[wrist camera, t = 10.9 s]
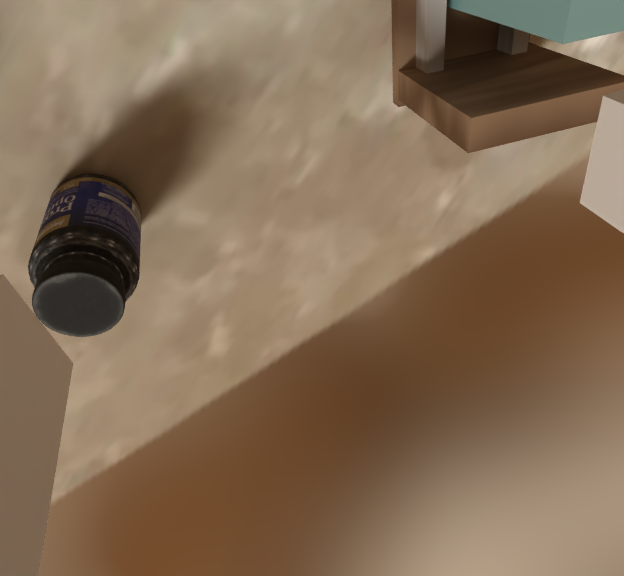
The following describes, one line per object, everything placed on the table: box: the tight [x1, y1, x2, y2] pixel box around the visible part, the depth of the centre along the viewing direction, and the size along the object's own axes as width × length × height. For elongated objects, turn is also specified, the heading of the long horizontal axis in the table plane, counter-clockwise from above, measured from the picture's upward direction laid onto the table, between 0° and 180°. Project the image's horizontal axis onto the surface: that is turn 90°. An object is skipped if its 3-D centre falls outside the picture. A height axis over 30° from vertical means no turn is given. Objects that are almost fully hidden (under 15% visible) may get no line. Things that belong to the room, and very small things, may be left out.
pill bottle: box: [28, 174, 141, 337], centre depth 31 cm, size 6×6×11 cm
